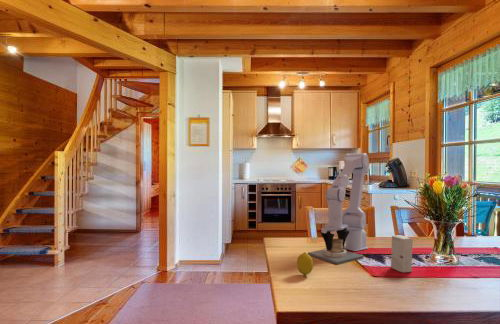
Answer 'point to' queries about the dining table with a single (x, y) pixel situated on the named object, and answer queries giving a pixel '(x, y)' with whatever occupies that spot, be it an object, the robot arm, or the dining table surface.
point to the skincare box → (401, 253)
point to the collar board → (337, 259)
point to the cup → (337, 245)
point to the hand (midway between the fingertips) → (335, 248)
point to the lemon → (304, 264)
